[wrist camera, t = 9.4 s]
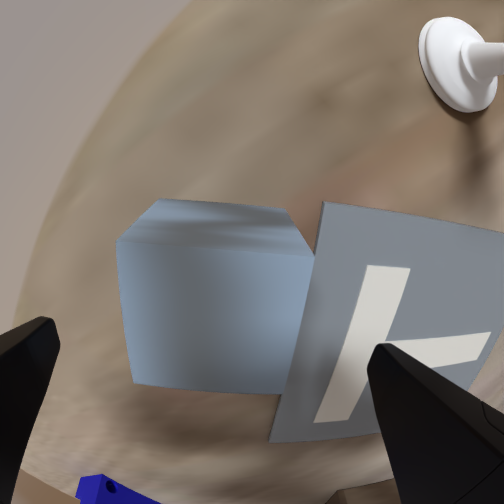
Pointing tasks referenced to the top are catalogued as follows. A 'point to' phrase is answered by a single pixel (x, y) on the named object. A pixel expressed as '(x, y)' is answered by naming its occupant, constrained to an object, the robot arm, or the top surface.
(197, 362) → the blue cube
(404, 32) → the top surface
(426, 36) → the chess piece
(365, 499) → the open brown box
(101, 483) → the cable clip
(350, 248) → the letter sheet
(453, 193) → the top surface
